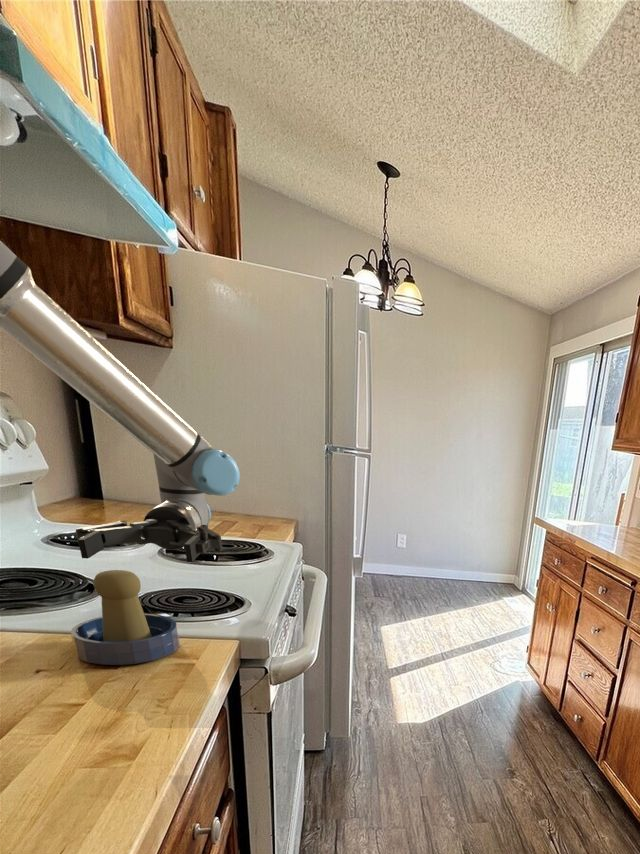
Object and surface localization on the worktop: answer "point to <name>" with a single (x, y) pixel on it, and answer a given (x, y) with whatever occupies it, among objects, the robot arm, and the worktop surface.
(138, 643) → the bowl
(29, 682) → the worktop surface
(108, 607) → the cork
